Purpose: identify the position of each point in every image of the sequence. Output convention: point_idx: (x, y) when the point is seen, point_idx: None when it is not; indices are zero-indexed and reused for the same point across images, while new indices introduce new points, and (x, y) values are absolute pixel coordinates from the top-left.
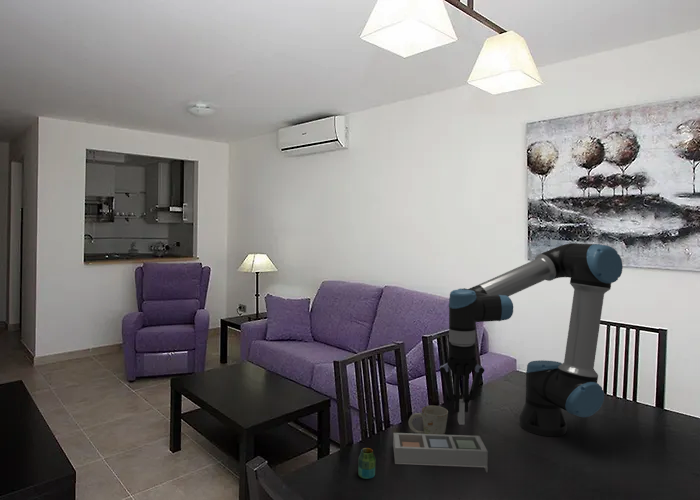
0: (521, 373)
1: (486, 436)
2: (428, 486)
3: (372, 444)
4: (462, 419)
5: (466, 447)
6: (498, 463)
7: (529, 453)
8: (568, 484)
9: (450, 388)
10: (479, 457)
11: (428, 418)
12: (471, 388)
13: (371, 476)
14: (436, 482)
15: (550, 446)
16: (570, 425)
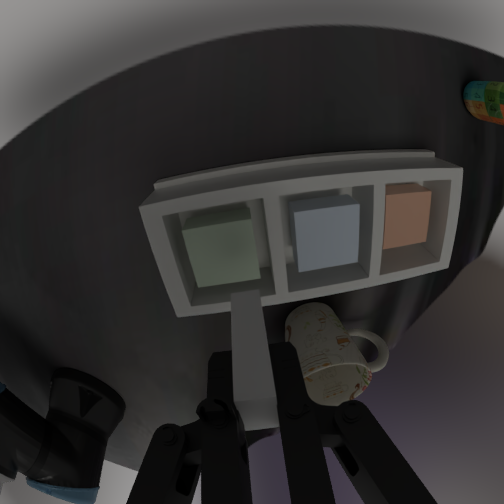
0: None
1: (176, 362)
2: (344, 61)
3: (449, 262)
4: (243, 310)
5: (221, 228)
6: (131, 243)
7: (77, 307)
8: (2, 191)
9: (381, 480)
10: (173, 192)
11: (355, 352)
12: (185, 502)
13: (474, 82)
14: (322, 83)
15: (55, 338)
16: None
